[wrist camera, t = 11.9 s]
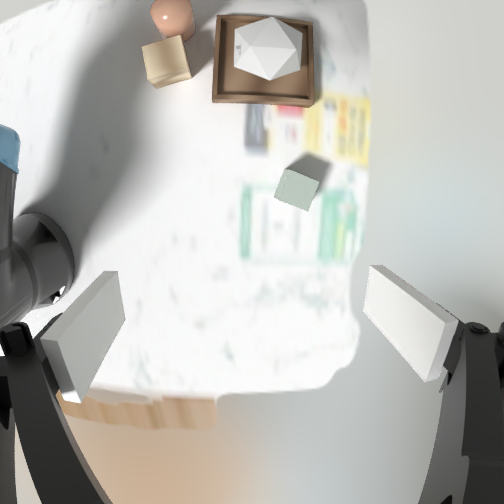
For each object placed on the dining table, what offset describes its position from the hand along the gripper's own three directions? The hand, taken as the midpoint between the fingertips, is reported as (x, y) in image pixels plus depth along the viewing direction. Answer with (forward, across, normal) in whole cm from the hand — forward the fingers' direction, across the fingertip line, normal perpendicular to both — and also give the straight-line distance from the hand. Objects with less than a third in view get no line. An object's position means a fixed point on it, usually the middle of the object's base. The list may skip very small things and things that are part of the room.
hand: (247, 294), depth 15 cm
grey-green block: (+27, -8, -3) cm, 28 cm away
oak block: (+27, +8, -21) cm, 35 cm away
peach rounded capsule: (+27, +8, -27) cm, 39 cm away
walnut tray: (+26, -4, -21) cm, 34 cm away
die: (+26, -4, -21) cm, 33 cm away
